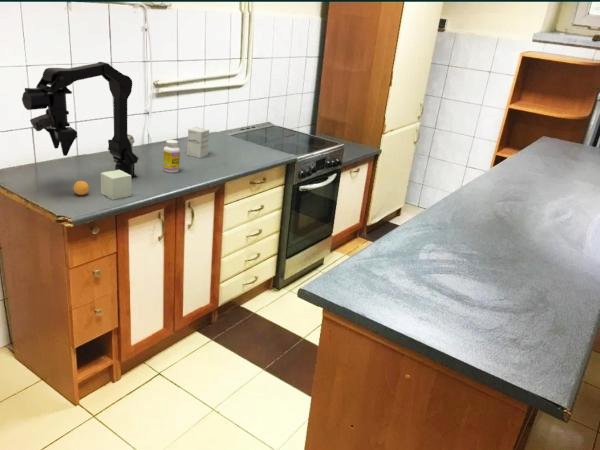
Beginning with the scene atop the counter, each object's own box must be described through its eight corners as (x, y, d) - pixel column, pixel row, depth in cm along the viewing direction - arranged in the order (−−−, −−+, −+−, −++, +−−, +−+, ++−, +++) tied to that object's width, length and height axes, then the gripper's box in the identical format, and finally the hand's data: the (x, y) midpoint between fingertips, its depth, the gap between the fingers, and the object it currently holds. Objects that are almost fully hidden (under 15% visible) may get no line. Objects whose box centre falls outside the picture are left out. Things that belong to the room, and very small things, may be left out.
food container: (125, 164, 219) (125, 141, 215) (112, 162, 219) (111, 139, 216) (139, 157, 230) (139, 135, 226) (126, 155, 231) (126, 133, 227)
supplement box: (186, 155, 242) (187, 128, 237) (195, 152, 249) (196, 126, 244) (199, 158, 240) (201, 132, 235) (208, 155, 247) (209, 129, 242)
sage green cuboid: (119, 189, 191) (119, 169, 188) (131, 195, 187) (131, 175, 184) (101, 193, 186) (100, 172, 183) (112, 199, 182) (112, 178, 179)
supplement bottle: (171, 174, 215) (172, 144, 210) (159, 170, 218) (160, 140, 213) (182, 171, 220) (183, 141, 215) (171, 167, 223) (171, 138, 218)
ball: (84, 191, 186) (83, 178, 184) (91, 195, 183) (91, 182, 181) (71, 193, 182) (70, 180, 180) (78, 198, 179) (77, 184, 177)
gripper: (23, 102, 175) (27, 146, 181) (40, 114, 162) (44, 162, 169) (57, 101, 182) (60, 144, 188) (76, 113, 169) (79, 158, 176)
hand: (60, 151), depth 180 cm, fingers open, 9 cm apart
